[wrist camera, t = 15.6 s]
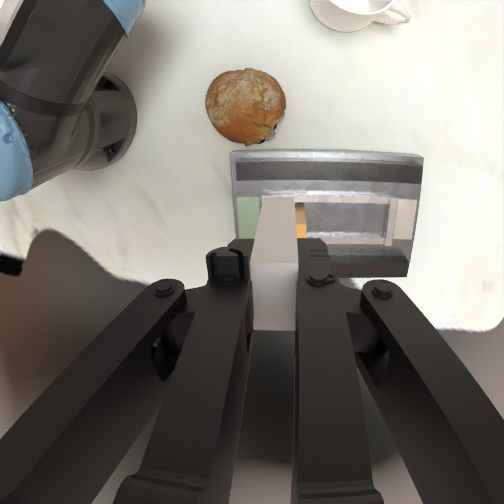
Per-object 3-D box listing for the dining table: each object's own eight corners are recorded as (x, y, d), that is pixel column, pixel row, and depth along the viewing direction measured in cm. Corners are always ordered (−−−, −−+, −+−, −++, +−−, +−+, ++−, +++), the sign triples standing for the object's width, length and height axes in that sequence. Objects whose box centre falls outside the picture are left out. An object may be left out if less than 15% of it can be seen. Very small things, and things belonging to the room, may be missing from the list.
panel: (240, 267, 50) (237, 281, 47) (232, 150, 42) (226, 156, 38) (403, 267, 47) (411, 281, 43) (418, 154, 39) (429, 161, 35)
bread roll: (282, 78, 40) (276, 48, 32) (292, 144, 40) (289, 123, 32) (213, 90, 42) (195, 64, 34) (219, 155, 42) (200, 138, 34)
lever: (281, 232, 45) (280, 255, 39) (281, 202, 43) (280, 221, 37) (303, 232, 44) (305, 255, 38) (304, 202, 42) (306, 221, 36)
